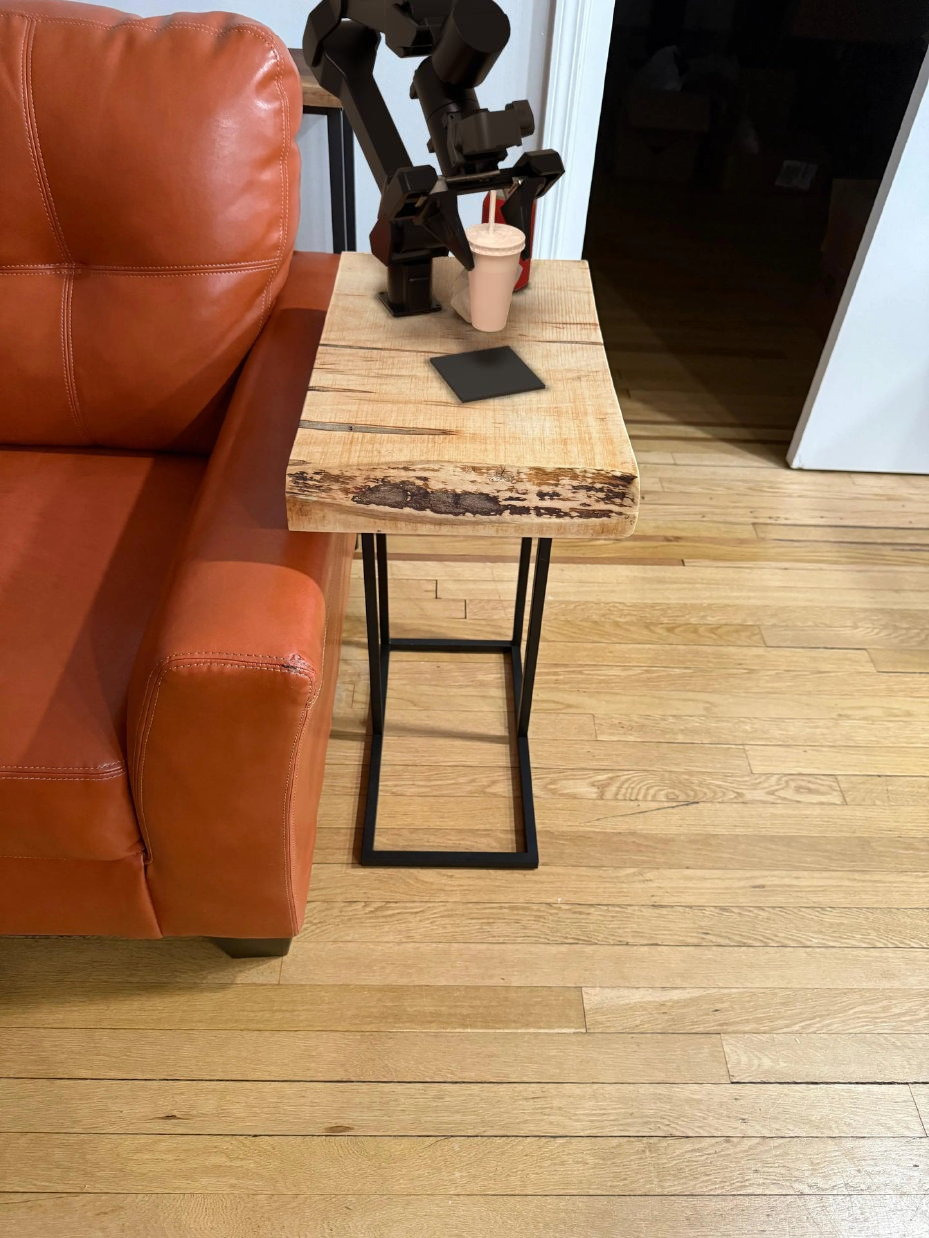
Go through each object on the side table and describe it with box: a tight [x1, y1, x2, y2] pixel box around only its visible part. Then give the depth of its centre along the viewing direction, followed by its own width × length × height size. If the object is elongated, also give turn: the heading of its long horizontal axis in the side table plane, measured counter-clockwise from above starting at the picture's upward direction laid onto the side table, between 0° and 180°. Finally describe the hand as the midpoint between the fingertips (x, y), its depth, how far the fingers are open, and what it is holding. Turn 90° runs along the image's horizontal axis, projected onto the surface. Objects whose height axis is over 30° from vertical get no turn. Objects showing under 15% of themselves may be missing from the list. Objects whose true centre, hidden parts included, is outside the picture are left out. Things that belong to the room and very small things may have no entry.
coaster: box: [429, 345, 546, 403], centre depth 104 cm, size 10×10×1 cm
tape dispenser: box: [449, 264, 523, 324], centre depth 112 cm, size 6×7×10 cm
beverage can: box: [480, 189, 537, 292], centre depth 119 cm, size 7×7×12 cm
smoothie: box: [464, 190, 525, 333], centre depth 96 cm, size 6×6×14 cm
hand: (499, 264), depth 95 cm, fingers closed on smoothie, 6 cm apart
